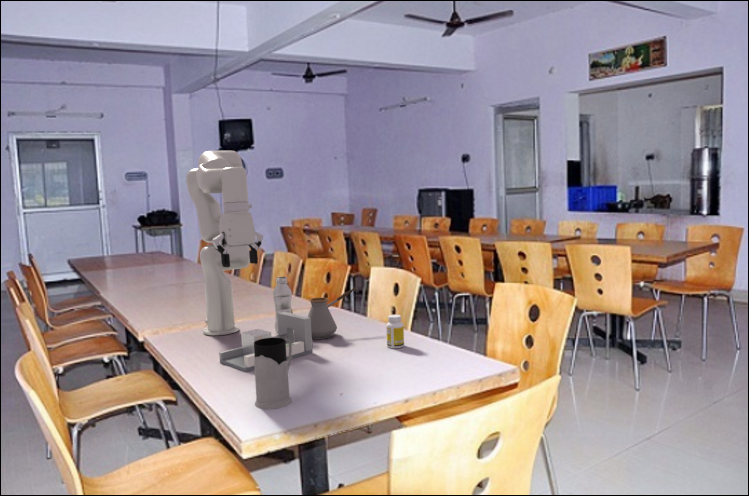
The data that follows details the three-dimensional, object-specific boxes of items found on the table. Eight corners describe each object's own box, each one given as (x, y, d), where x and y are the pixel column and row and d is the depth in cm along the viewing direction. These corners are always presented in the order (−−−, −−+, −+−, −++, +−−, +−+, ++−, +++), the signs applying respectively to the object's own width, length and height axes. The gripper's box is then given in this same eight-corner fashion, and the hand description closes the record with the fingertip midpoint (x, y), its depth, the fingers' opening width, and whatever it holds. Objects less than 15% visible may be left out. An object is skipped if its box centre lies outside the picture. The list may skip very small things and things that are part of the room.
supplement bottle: (406, 344, 191) (405, 314, 190) (400, 349, 186) (399, 318, 185) (391, 343, 193) (390, 313, 192) (384, 348, 188) (383, 317, 187)
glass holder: (247, 407, 143) (243, 345, 141) (277, 387, 156) (274, 330, 154) (280, 410, 139) (276, 347, 138) (308, 390, 153) (305, 332, 151)
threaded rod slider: (242, 355, 181) (241, 332, 180) (280, 345, 191) (279, 323, 190) (263, 362, 173) (261, 338, 172) (301, 351, 183) (300, 328, 182)
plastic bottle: (290, 336, 206) (287, 279, 203) (272, 336, 207) (268, 279, 205) (297, 332, 212) (294, 276, 210) (278, 331, 213) (275, 276, 211)
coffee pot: (313, 342, 197) (311, 297, 196) (297, 336, 207) (295, 293, 205) (367, 331, 209) (366, 289, 207) (350, 325, 219) (348, 285, 217)
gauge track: (219, 362, 179) (217, 326, 178) (285, 344, 196) (283, 311, 195) (245, 371, 169) (243, 333, 168) (312, 352, 186) (310, 317, 185)
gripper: (253, 207, 189) (257, 261, 191) (203, 210, 177) (208, 268, 178) (267, 206, 184) (271, 262, 185) (217, 209, 172) (221, 269, 173)
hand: (240, 265), depth 182 cm, fingers open, 9 cm apart
